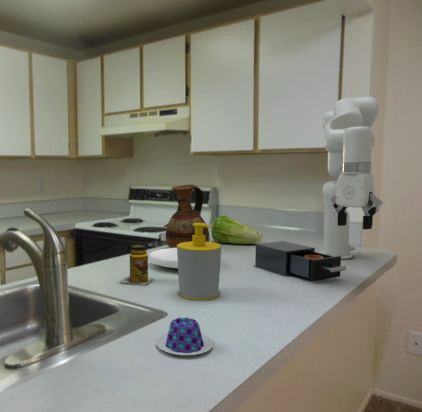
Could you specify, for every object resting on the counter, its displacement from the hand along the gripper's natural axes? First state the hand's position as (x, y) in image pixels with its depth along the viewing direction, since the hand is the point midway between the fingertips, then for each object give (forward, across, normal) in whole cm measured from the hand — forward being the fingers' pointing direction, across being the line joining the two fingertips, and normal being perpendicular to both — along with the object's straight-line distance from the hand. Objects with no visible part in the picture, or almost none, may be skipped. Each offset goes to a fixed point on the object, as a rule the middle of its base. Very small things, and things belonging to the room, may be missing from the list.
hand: (354, 226), depth 123 cm
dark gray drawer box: (+19, -29, 0) cm, 34 cm away
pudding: (+20, +12, -66) cm, 70 cm away
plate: (+19, -50, -30) cm, 62 cm away
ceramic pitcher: (+19, -76, -13) cm, 79 cm away
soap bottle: (+20, -17, -44) cm, 51 cm away
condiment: (+19, -38, -55) cm, 70 cm away
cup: (+17, -15, 0) cm, 23 cm away
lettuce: (+19, -78, +16) cm, 82 cm away
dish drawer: (+18, -14, 0) cm, 23 cm away
